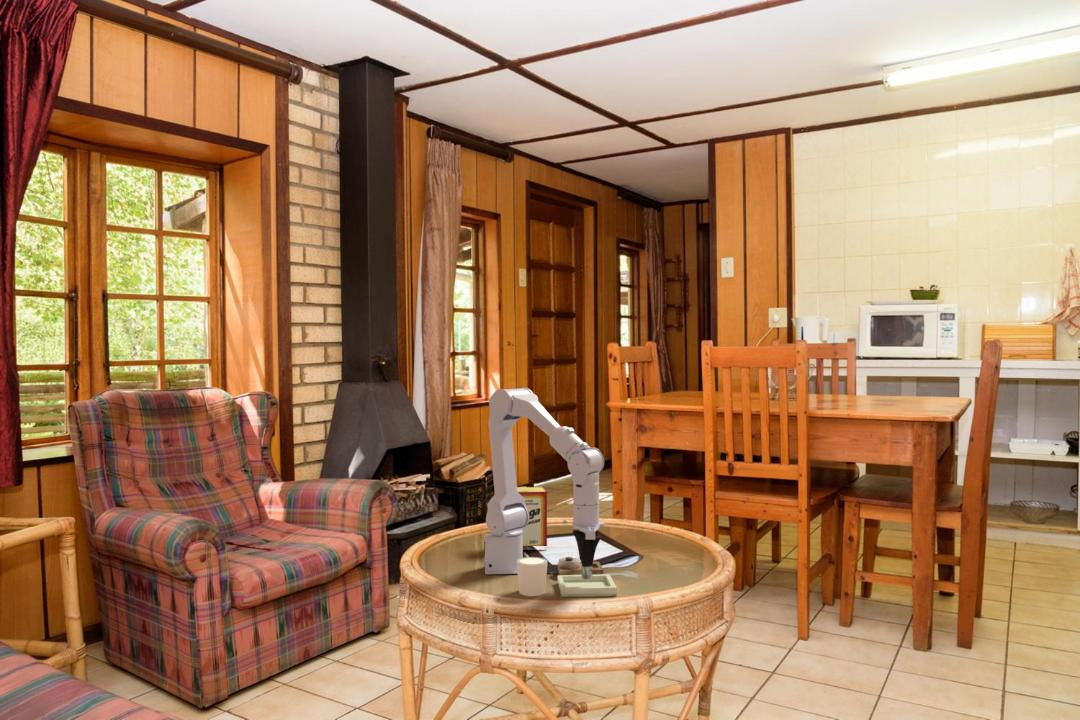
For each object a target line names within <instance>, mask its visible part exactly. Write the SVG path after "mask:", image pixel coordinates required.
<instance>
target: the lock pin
mask: <svg viewBox="0 0 1080 720" xmlns="http://www.w3.org/2000/svg"><path fill="white" fill-rule="evenodd" d="M580 562H581V561H580ZM581 564H582V562H581ZM582 578H583V579H592V566H591V567H583V566H582Z"/></svg>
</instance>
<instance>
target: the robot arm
mask: <svg viewBox="0 0 1080 720" xmlns="http://www.w3.org/2000/svg"><path fill="white" fill-rule="evenodd" d="M488 405H489V417H488V430H489V431H488V432H489V442H490V454H491V455H490V456H491V467H492V477H493V487H494V495H493V496H491V498H490V499H489V501H488V503H486V505H487V513H486V517H485V524H486V527H487V530H488V531H489V532H490V533H485V534H484V557H483V566H484V574H485V575H508V574H509V575H518V573H517V562H516V561H517V560H518V559H520V558H524V557H523V552H524V551H523V532H524V527H526V526H527V524H528V522H529V512H528V510H527V508H526V505H525V499H524V498H523V497H522V496H521V495H520V494H519V493H518V492H517V487H518V484H517V474H516V473H517V472H516V463H515V461H516V460H515V452H514V451H515V450H514V441H513V430H512V428H513V427H514V426H515V425H516V423H517V422H518V421H519V420H520V419H521V418H527V419H528V420H530V421H531V422H532V423H533V424H534V425H535V426H536V427H538V428H539V429H540V430H541V431H543V432H544V433H545V434H546V435H547V436H548V437H549V444H550V446H551V447H552V448H553V449H554V450H555V451H556V452H557V453H558V454H559V455H560V456H561V457H562V458H563V459H564V460H565V461H566V462H567V469H568V470H569V472H570V475H571V481H572V483H573V487H572V489H573V494H572V495H573V502H572V503H573V505H572V506H573V509H572V510H573V512H572V513H573V514H572V515H573V519H572V520H573V521H572V528H573V529H572V533H573V536H574V538H575V541H576V544H577V551H578V558H579V560H580V562H582V566H583V567H591V566H592V564H593V562H594V559H595V554H596V550H597V547H598V544H599V542H600V540H601V539H602V538H601V537H602V536H601V535H600V534H598V533H599V528H603V527H605V522H604V521H600V472H601V471H603V469H604V466H605V458H604V455H603V454H602V452H601V451H600V449H599V448H597V447H591V446H590V445H589V444H588V443H587V442H584V441H583V440H582V439H581V438H580V437H579V436H578V435H577V434H576V433H575V429H574V428H573V427H569V426H566V425H565V426H563V425H562V426H561V425H560V424H559V423H558V422H557V421H556V420H555V419H554V418H553V416H552V415H551V414H550V413H549V412H548V411H547V410H546V408H545V407H544V406H543V405H542V403H540V402H539V397H538V395H536V394H535V393H534V392H533V391H532V390H531V389H530V388H528V387H521V388H509V389H505V388H499V389H496V390H495V391H494V392H493V393H492V394H491V396H490V397H489V399H488Z"/></svg>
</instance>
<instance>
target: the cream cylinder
mask: <svg viewBox="0 0 1080 720" xmlns="http://www.w3.org/2000/svg"><path fill="white" fill-rule="evenodd" d="M516 562H517V573H518V574H517V582H518V593H519V594H520V595H522V596H525V597H538V596H542V595H544V594H545V593H546V582H547V572H548V560H547V558H544V557H539V556H538V557H537V556H528V557H527V556H526V557H523V558H520V559H518V560H517V561H516Z"/></svg>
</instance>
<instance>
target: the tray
mask: <svg viewBox="0 0 1080 720" xmlns="http://www.w3.org/2000/svg"><path fill="white" fill-rule="evenodd" d="M556 583H557V587H558V590H559V593H560V596H561V598H580V597H582V598H583V597H584V598H585V597H586V598H587V597H617V596H618V595H617V594H618V590H617V589H618V587H617V586H616V584H615V582H614V580H613V578H612V576H611V575H610V574H608V573H606V574H604V573H603V574H597V575H592V579H583V578H582V575H559V574H558V575H557V581H556Z"/></svg>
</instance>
